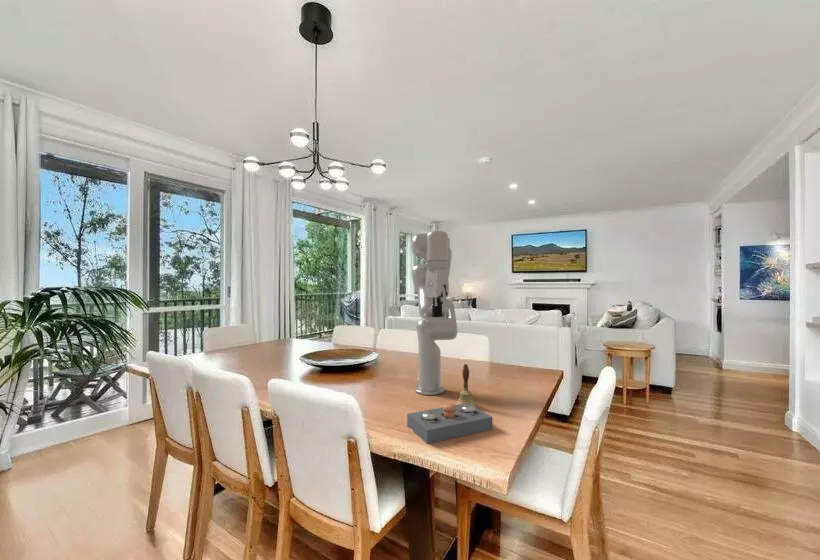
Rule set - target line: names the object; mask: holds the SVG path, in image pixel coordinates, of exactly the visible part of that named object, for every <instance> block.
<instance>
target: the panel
mask: <svg viewBox="0 0 820 560" xmlns="http://www.w3.org/2000/svg"><path fill="white" fill-rule="evenodd" d="M463 405H470V404H468V403H465V404H460V405H456V411H455V417H454V418H449V419H447V418H445V417H444V410H443V407H438V408H433V409H428V410H421V411H417V412H416V411H415V412H410V413H407V416H406V417H407V421H406V422H407V425H406V426H407V427H408V428H409V429H410V428H411V429H412V430H413V433H414V434H415V435H417V436H418V437H419V438H420V439H421V440H422V441H424V442H425V443H426V444H427V445H428V444H432V443H437V442H442V441H445V439H446V440H451V439H454V438H459V437H464V436H467V435H473V434H478V433H483V432H486V430H487V431H490V429H491V430H493V416H491V415H489V414H488V413H486V412H485V411H483V410H481V409H480V408H478V407H477V408H476V407H475V412H474V414H470V415H466V414H464V413H463V411H462V406H463ZM424 412H434V413H436V420H435V421H434V422H429V423H426V422H425V421H424V419H423V418H422V414H423V413H424ZM411 429H410V430H411ZM450 438H451V439H450Z"/></svg>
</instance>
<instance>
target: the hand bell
mask: <svg viewBox="0 0 820 560" xmlns="http://www.w3.org/2000/svg"><path fill="white" fill-rule="evenodd" d="M462 367H463V368H462V370H461V371H462V379H463V390H461V391H460V392H459V398H458V400H457V402H455V404H454V405H460V404H465V403H468V404H470V405H472V406H474V407H476V408H477V409H478V405H477V404H476V403H475V401H474V399H473V393H472V391H471V390H469V378H470V370H469V369H470V368H469V366H468V364H466V363H464V365H463V366H462Z"/></svg>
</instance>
